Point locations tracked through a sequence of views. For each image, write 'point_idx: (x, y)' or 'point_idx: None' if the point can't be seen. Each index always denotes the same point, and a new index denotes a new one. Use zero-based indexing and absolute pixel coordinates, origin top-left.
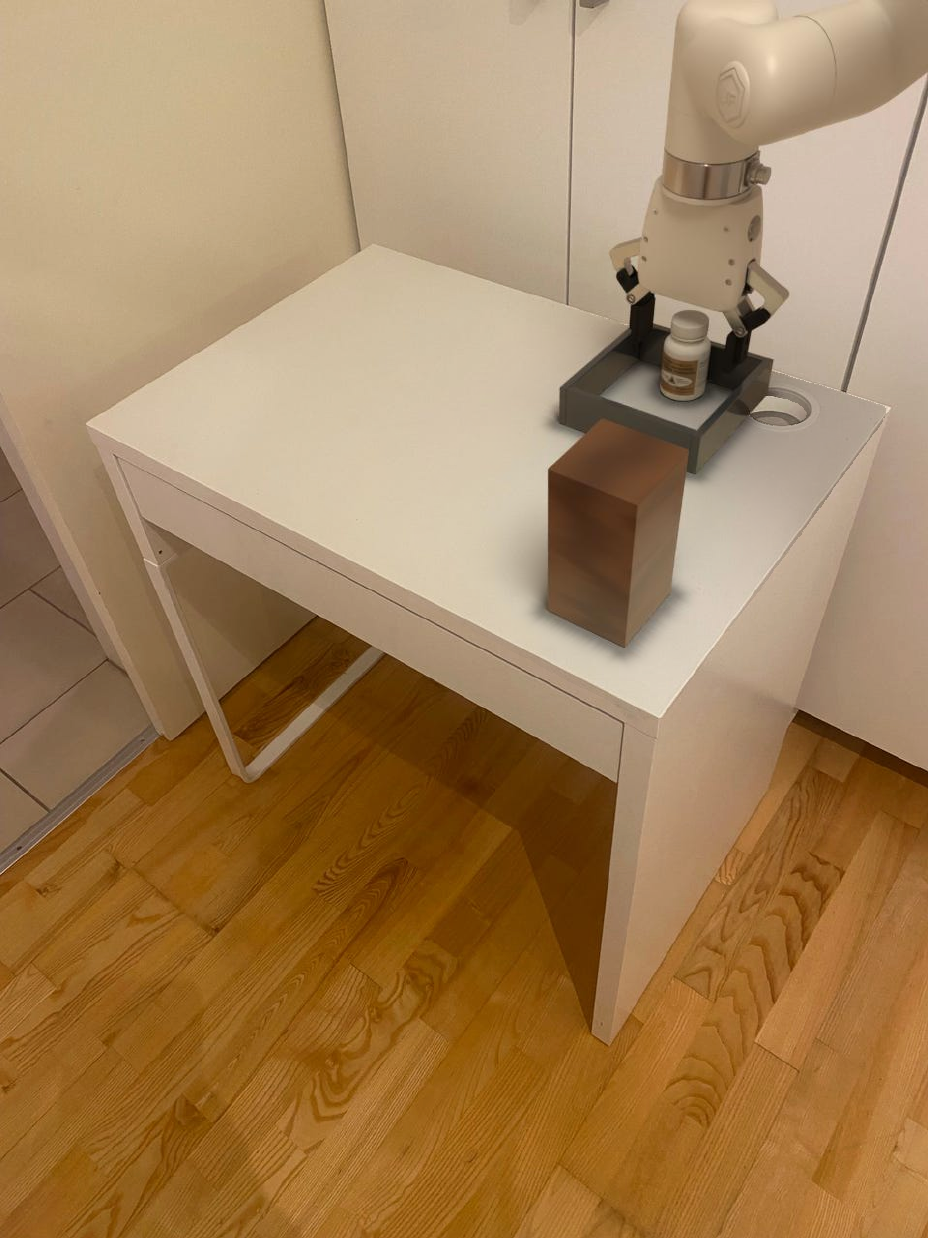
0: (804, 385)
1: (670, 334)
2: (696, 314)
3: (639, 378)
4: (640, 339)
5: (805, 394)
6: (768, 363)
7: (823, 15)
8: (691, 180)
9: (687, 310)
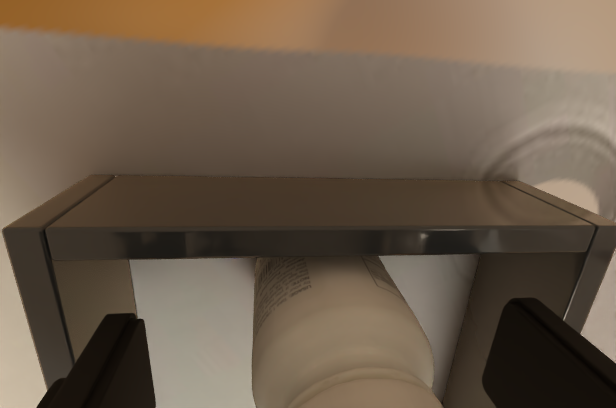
0: (607, 81)
1: (265, 403)
2: None
3: (187, 277)
4: (150, 400)
5: (611, 124)
6: (608, 259)
7: None
8: None
9: None
